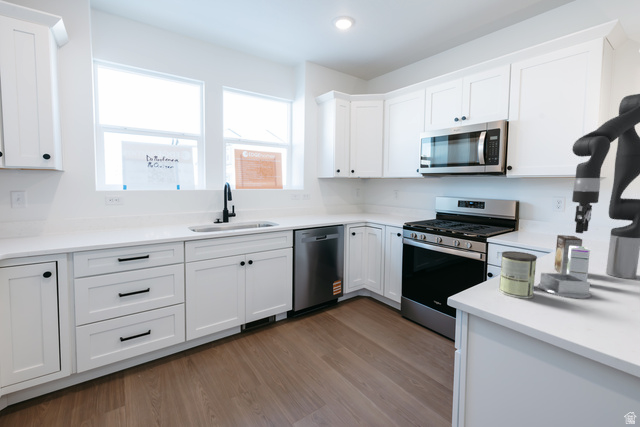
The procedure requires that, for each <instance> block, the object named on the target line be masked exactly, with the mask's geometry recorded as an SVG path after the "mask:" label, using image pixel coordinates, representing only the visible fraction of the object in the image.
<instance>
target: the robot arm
mask: <svg viewBox="0 0 640 427" xmlns="http://www.w3.org/2000/svg"><path fill="white" fill-rule="evenodd" d="M638 124H640V93H636V94H630V95H626V96H624V97H623V98H622V99H621V101H620V103H619V106H618V115H617V116H615V117H612V118H611V119H609V120H607V121H605V122H604V123H603V124H602V125H600V126H599V127H598V128H596V129H595V130H593V131H590V132H589V133H586V134H585V135H583V136H581V137H579V138H578V139H577V140H575V142H574V143H573V145H572V149H571V150H572V153H573V154H574V155H576V156H577V157H583V158H584V157H590V158H589V159H588V160H587V161H584V162H581V163H578V164H577V165H576V170H575V179H574V183H573V189H572V201H571V202H572V203H579V204H578V205H576V207H575V208H576V209H575V214H574V215H575V216H574V222H575V233H576V234H584V232H587V231H589V223H590V221H591V219H592V210H593V209H592V207H593V205H592V204H597V203H599V197H600V191H601V190H600V189H601V172H602V171H601V170H602V167H603V164H604V161H605V159H606V158H607V156H608V153H609V152H610V149H611V143H614V141H616V140H617V147H616V154H615V159H614V172H613V174H614V176H613V183H612V184H613V185H612V190H611V196H610V200H609V206H608V217H609V219H611V220H616V221H617V220H618V221H619V220H620V221H629V222H630V221H631V223H630V224H627V225H625V226H624V225H623V226H619V227H612V228H611V230H610V235H609V247H608V254H607V261H606V262H607V263H606V269H605V270H606V271H605V274H606V275H609V276H613V277H616V278H617V277H618V278H623V279H632V280H633V279H634V280H635V279H636V278H637V274H638V267H639V265H638V264H639V257H640V198H625V197H624V198H621V197H622V195H623V193H624V192H625V190H626V189H627V187H628V186H629V185H630V184H631V183H632V182H633V181H635V179H636V178H637V177H639V176H640V135H639V134H638V132H637V130H636V125H638Z"/></svg>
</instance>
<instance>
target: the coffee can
mask: <svg viewBox="0 0 640 427" xmlns="http://www.w3.org/2000/svg"><path fill="white" fill-rule="evenodd" d="M537 259H538V256H537V255H536V254H533V253H532V254H531V253H529V252H522V251H516V250H515V251H514V250H512V251H511V250H510V251H509V250H508V251H502V252H501V263H500V264H501V265H500V266H501V268H500V279H499V292H500V293H501V294H503V295H505V296H508V297H511V298H517V299H532V298H534V288H535V276H536V269H537V268H536V266H537Z"/></svg>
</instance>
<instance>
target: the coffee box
mask: <svg viewBox="0 0 640 427" xmlns="http://www.w3.org/2000/svg"><path fill="white" fill-rule="evenodd" d="M555 245H556V247H555V256H554V266H553V267H554V268H553V269H554V270H555V271H556V272H558V273H560V274H567V263H568V252H569V246H582V247H583V239H582V238H579V237H578V236H574V235H563V234H562V235H561V234H558V235H557V239H556V244H555Z"/></svg>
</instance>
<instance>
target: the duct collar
mask: <svg viewBox="0 0 640 427" xmlns="http://www.w3.org/2000/svg"><path fill="white" fill-rule="evenodd" d="M539 279H540V280H539V283H538V284H537V287H538V289H540V290H541V291H543V292H544V293H545V292H546V293H548V294H551V295H554V294H555V296H558V295H559V297H563V296H564V297H563V298H568V297H571V299H578V298H585V299H589V298H590V297H591V293H590V287H591V282H590V281H588V280H587V281H585V280H583V279H580V278H578V277H575V276H573V275H571V274H560V273H559V272H558V273H555V272H554V273H553V272H541V273H540V278H539ZM588 297H589V298H588Z"/></svg>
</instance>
